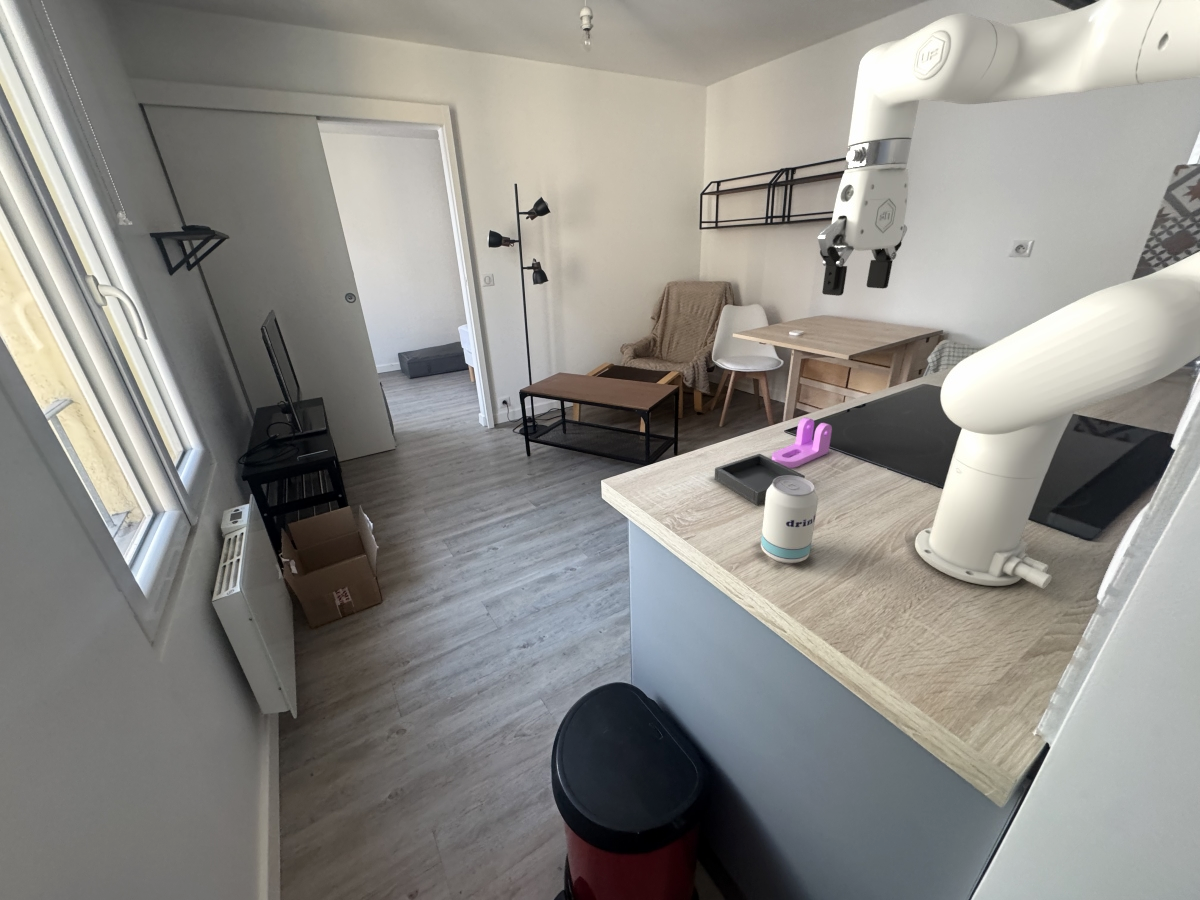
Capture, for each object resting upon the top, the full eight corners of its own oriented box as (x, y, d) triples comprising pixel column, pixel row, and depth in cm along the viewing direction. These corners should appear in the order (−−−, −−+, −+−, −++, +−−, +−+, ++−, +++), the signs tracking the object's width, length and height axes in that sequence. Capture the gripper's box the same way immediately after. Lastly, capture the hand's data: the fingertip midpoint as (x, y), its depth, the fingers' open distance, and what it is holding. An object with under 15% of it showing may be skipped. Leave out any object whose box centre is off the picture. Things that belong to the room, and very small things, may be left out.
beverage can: (778, 572, 67) (787, 501, 62) (751, 545, 73) (757, 478, 68) (819, 561, 69) (831, 491, 64) (789, 535, 75) (798, 469, 70)
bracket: (805, 444, 105) (809, 415, 102) (828, 452, 100) (833, 422, 97) (766, 460, 99) (769, 430, 96) (788, 470, 94) (792, 438, 91)
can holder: (803, 487, 88) (805, 475, 87) (756, 505, 83) (758, 493, 82) (758, 464, 97) (759, 453, 96) (714, 479, 93) (714, 467, 92)
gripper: (857, 155, 57) (836, 300, 65) (944, 155, 64) (916, 286, 71) (807, 164, 64) (793, 295, 71) (891, 163, 70) (870, 283, 77)
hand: (855, 291), depth 71 cm, fingers open, 9 cm apart
